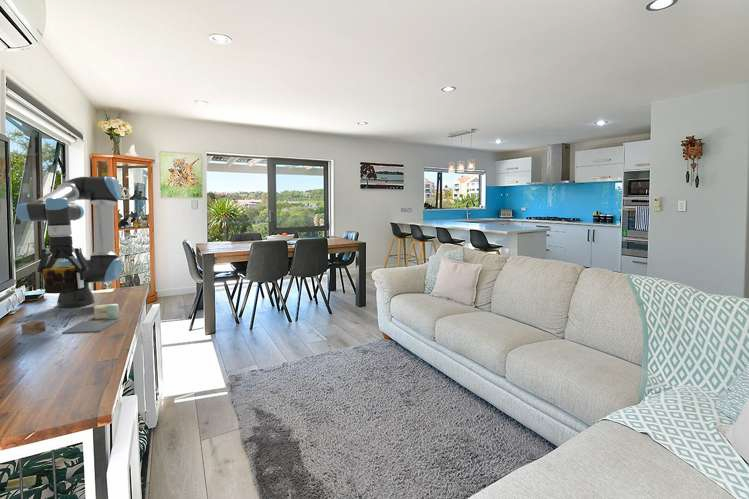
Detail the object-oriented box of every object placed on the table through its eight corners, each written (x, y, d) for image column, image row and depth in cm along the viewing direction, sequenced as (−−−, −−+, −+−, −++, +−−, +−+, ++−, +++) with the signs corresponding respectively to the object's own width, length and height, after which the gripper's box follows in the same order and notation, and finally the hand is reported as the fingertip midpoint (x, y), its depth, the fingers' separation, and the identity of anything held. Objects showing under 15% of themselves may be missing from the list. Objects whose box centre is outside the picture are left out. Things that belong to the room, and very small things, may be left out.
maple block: (96, 316, 182) (95, 305, 181) (109, 314, 184) (108, 304, 184) (94, 319, 178) (93, 308, 177) (108, 317, 180) (107, 306, 179)
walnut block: (34, 330, 164) (33, 320, 163) (45, 330, 163) (44, 321, 162) (22, 334, 159) (21, 324, 158) (33, 334, 158) (32, 325, 157)
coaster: (82, 322, 172) (82, 321, 172) (117, 321, 174) (117, 319, 174) (62, 333, 159) (61, 332, 159) (100, 331, 161) (100, 330, 161)
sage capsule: (110, 317, 181) (109, 303, 180) (121, 316, 181) (120, 303, 180) (105, 320, 176) (104, 306, 176) (116, 319, 177) (115, 306, 176)
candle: (64, 294, 162) (62, 269, 161) (43, 293, 164) (41, 269, 163) (87, 289, 172) (84, 265, 171) (67, 288, 174) (64, 265, 173)
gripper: (21, 237, 160) (28, 291, 163) (85, 235, 163) (90, 289, 165) (35, 235, 168) (41, 287, 170) (96, 234, 170) (101, 285, 173)
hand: (65, 288), depth 168 cm, fingers closed on candle, 11 cm apart
